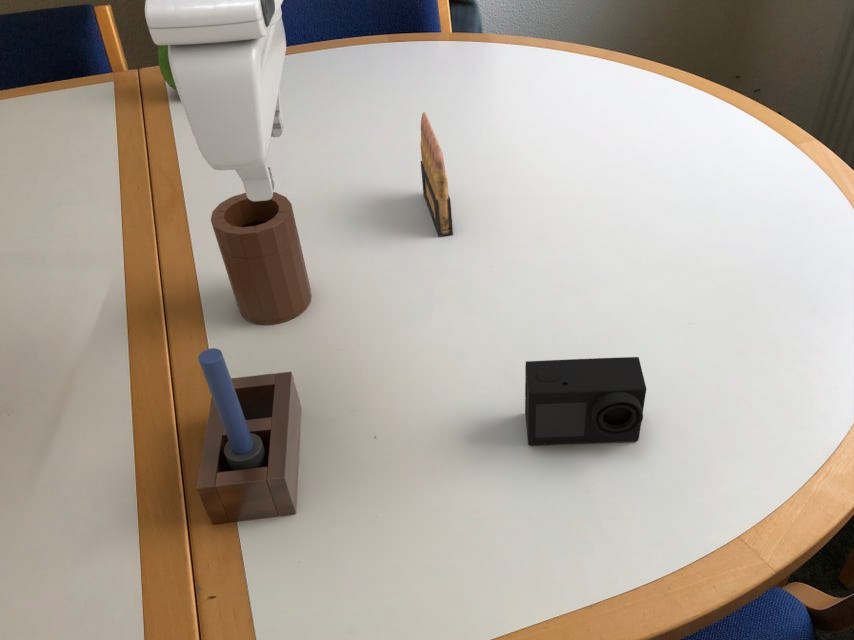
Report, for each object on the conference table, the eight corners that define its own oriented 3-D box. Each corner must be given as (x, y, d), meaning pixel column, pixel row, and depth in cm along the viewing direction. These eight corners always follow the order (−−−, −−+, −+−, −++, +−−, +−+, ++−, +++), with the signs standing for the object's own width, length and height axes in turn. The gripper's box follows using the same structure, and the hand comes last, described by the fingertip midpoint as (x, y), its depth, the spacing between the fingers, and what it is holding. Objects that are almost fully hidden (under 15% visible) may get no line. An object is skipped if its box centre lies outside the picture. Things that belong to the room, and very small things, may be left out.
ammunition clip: (423, 194, 107) (415, 109, 99) (436, 191, 107) (429, 107, 99) (438, 237, 99) (431, 149, 91) (453, 234, 99) (447, 147, 91)
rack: (212, 524, 68) (195, 488, 65) (227, 416, 78) (214, 379, 74) (296, 514, 69) (284, 478, 65) (301, 407, 78) (291, 371, 75)
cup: (235, 328, 87) (206, 237, 79) (242, 283, 93) (216, 194, 85) (310, 320, 88) (289, 229, 80) (312, 276, 94) (292, 187, 86)
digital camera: (527, 456, 73) (528, 403, 68) (524, 412, 77) (524, 360, 72) (641, 451, 73) (649, 398, 68) (631, 408, 77) (639, 355, 72)
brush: (237, 503, 70) (185, 372, 59) (241, 474, 72) (191, 344, 61) (274, 498, 70) (229, 367, 59) (276, 470, 72) (233, 339, 62)
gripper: (195, -77, 57) (240, 104, 67) (137, 27, 42) (206, 242, 52) (283, -82, 58) (315, 99, 67) (256, 19, 43) (303, 234, 52)
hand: (267, 162), depth 59 cm, fingers open, 8 cm apart
